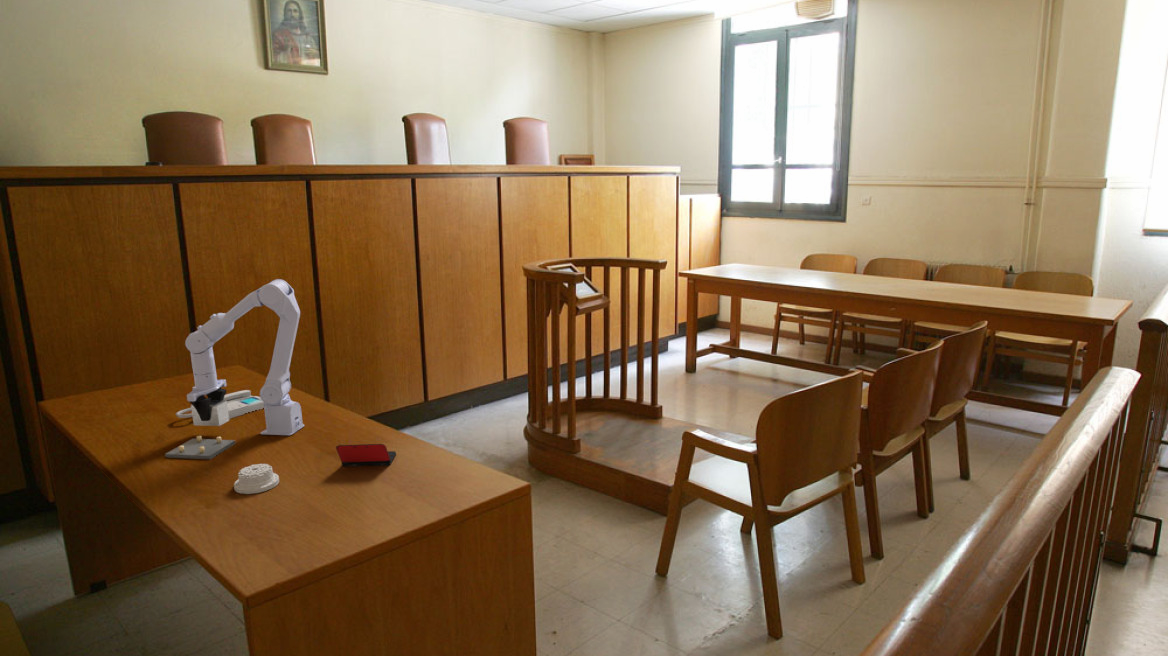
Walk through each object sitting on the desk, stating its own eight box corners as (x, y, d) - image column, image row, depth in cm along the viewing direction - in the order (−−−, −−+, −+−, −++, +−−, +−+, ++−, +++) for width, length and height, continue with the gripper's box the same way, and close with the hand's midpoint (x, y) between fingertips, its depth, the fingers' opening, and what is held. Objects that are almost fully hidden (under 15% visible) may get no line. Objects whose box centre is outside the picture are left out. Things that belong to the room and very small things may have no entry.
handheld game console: (397, 454, 192) (395, 428, 190) (387, 471, 181) (385, 444, 180) (350, 456, 192) (347, 429, 190) (337, 473, 181) (334, 445, 179)
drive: (229, 420, 209) (226, 400, 208) (219, 426, 205) (216, 405, 203) (204, 419, 210) (201, 399, 209) (193, 425, 206) (190, 404, 204)
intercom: (168, 408, 219) (247, 387, 239) (170, 422, 220) (248, 400, 240) (189, 416, 211) (269, 394, 231) (191, 430, 212) (270, 407, 232)
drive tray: (235, 443, 201) (234, 435, 200) (210, 459, 190) (209, 450, 190) (193, 441, 203) (192, 433, 202) (165, 457, 192) (164, 448, 192)
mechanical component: (225, 493, 171) (262, 496, 169) (222, 476, 170) (260, 479, 168) (252, 476, 180) (287, 478, 178) (250, 459, 179) (285, 462, 177)
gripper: (208, 364, 212) (214, 408, 215) (174, 379, 198) (181, 425, 201) (230, 365, 211) (236, 409, 214) (197, 379, 197) (204, 426, 200)
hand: (211, 417), depth 207 cm, fingers closed on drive, 5 cm apart
